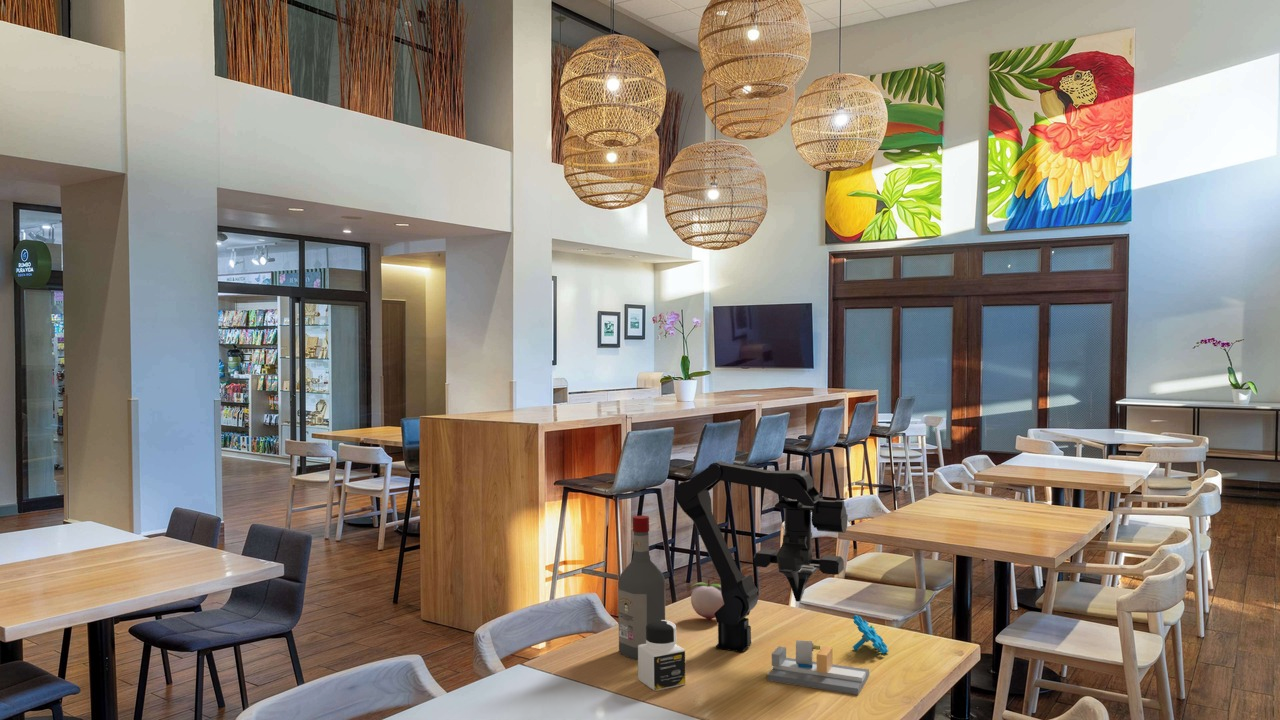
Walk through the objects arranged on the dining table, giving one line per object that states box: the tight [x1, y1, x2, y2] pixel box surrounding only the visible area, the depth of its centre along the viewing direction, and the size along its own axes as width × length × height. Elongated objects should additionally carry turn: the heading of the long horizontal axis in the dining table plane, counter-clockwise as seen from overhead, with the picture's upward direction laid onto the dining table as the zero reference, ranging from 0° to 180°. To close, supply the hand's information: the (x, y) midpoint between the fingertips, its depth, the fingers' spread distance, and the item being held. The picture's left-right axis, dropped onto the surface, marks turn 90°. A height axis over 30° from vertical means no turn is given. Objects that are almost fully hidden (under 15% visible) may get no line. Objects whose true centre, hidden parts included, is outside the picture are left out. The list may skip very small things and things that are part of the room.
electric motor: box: [795, 639, 821, 668], centre depth 170 cm, size 7×5×5 cm
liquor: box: [617, 515, 666, 661], centre depth 185 cm, size 9×9×30 cm
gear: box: [852, 614, 889, 654], centre depth 186 cm, size 11×6×10 cm
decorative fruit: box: [690, 579, 724, 620], centre depth 208 cm, size 9×8×10 cm
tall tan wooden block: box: [816, 646, 834, 674], centre depth 169 cm, size 2×5×4 cm, turn 154°
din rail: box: [766, 645, 870, 696], centre depth 169 cm, size 18×11×4 cm, turn 64°
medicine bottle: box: [637, 619, 686, 692], centre depth 168 cm, size 7×7×12 cm
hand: (798, 601), depth 182 cm, fingers closed
